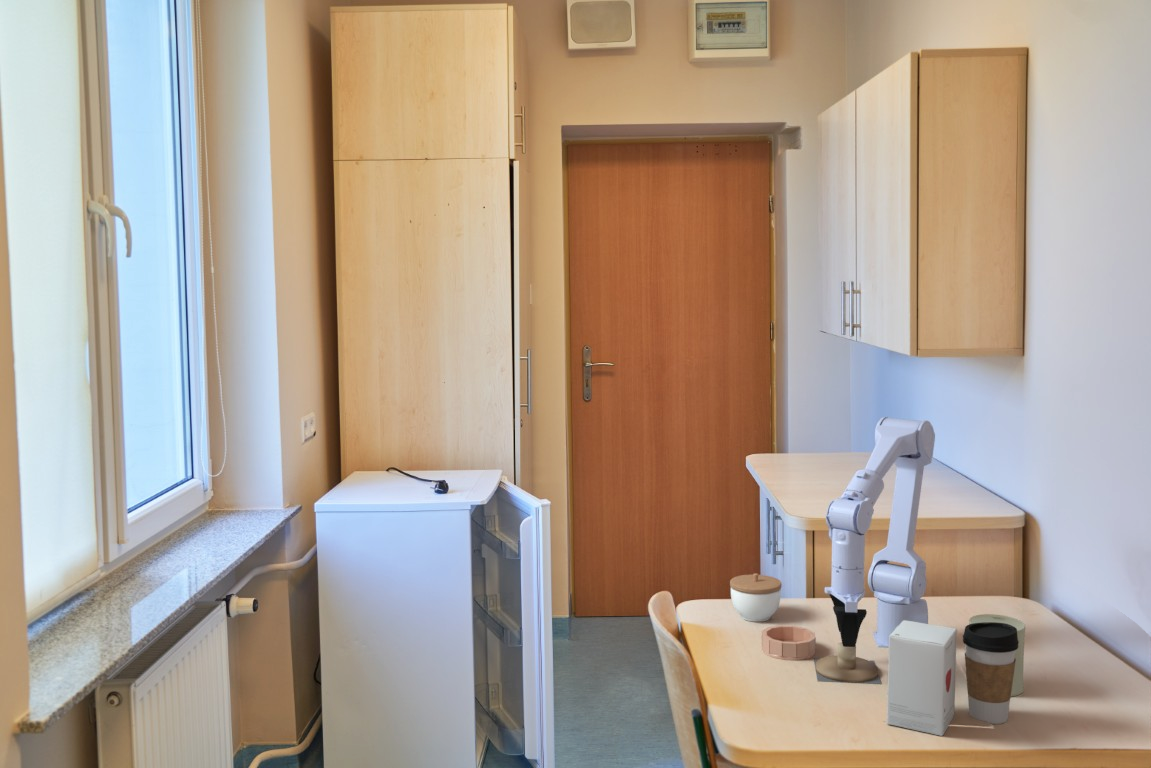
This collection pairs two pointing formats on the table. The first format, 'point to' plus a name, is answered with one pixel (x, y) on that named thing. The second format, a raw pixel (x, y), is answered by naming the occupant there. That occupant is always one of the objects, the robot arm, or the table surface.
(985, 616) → the can
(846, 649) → the lid
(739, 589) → the lidded jar
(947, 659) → the supplement box
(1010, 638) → the coffee cup
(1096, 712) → the table surface
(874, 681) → the mat
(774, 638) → the dish
